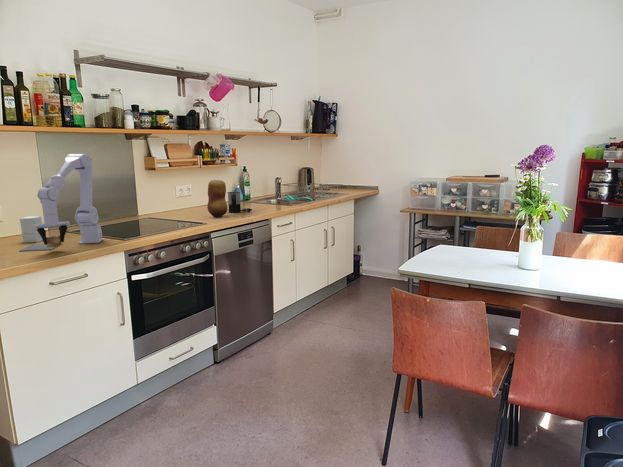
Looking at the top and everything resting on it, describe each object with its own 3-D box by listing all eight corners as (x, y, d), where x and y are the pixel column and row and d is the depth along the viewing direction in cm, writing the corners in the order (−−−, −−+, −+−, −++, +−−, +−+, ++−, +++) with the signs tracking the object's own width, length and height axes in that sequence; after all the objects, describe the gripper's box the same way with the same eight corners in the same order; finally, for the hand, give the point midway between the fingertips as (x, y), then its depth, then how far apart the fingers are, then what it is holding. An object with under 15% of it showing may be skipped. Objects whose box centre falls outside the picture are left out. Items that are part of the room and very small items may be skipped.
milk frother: (226, 212, 333) (225, 191, 331) (247, 210, 340) (246, 190, 337) (232, 214, 321) (231, 193, 318) (253, 212, 327) (252, 192, 324)
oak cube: (61, 244, 213) (60, 235, 212) (57, 247, 208) (56, 237, 207) (51, 245, 212) (49, 235, 211) (47, 247, 207) (45, 237, 207)
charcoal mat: (62, 244, 227) (62, 243, 227) (51, 250, 214) (51, 248, 214) (32, 245, 225) (32, 244, 225) (19, 251, 212) (19, 250, 212)
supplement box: (45, 239, 240) (42, 215, 238) (37, 242, 233) (34, 217, 230) (30, 239, 240) (27, 216, 238) (22, 242, 233) (19, 218, 230)
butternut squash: (229, 217, 305) (227, 180, 300) (209, 219, 300) (207, 181, 295) (225, 215, 317) (223, 179, 313) (206, 216, 312) (203, 179, 308)
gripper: (64, 211, 215) (68, 239, 218) (29, 214, 205) (33, 244, 208) (69, 212, 210) (73, 241, 213) (34, 216, 200) (38, 246, 203)
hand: (54, 243), depth 210 cm, fingers closed on oak cube, 6 cm apart
